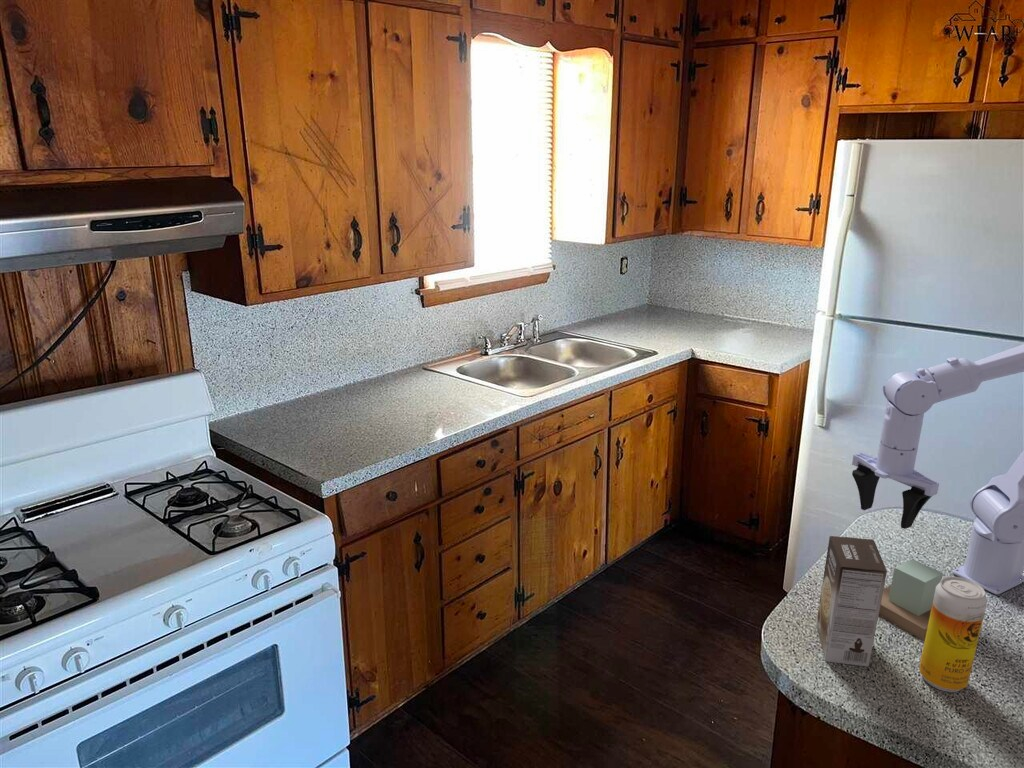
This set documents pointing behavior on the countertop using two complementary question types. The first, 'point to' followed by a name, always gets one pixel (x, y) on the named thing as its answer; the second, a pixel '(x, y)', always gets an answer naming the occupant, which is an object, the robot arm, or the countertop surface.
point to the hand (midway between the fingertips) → (885, 517)
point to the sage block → (914, 586)
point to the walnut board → (904, 616)
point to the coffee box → (850, 600)
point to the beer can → (952, 633)
